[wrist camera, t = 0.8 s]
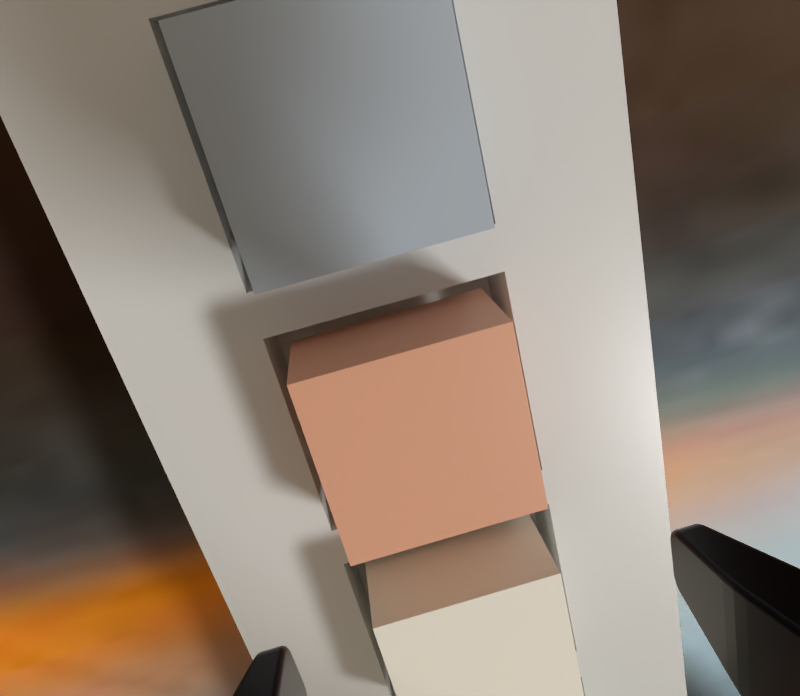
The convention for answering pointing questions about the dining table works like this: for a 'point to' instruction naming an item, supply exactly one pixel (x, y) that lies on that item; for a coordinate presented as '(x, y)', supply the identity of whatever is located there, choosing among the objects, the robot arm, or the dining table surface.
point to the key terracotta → (418, 424)
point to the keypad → (363, 300)
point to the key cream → (475, 616)
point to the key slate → (332, 129)
